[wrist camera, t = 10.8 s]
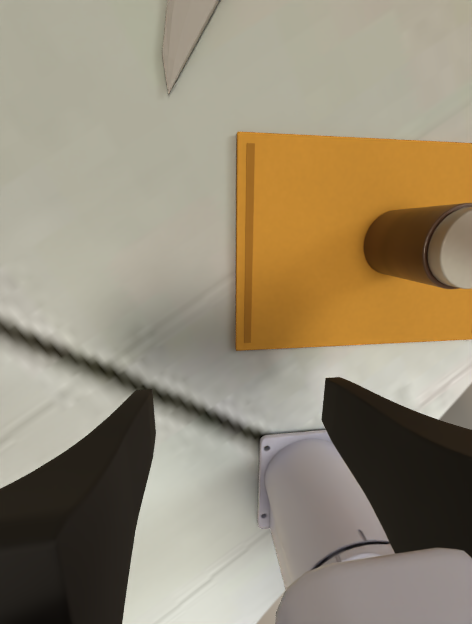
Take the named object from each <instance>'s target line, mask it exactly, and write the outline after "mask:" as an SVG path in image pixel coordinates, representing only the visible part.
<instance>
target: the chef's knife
mask: <svg viewBox="0 0 472 624" xmlns="http://www.w3.org/2000/svg"><path fill="white" fill-rule="evenodd" d="M218 2H219V0H168V2H167V11H166V20H165V29H164V38H163V48H162V56H163V62H164V69H165V76H166V82H167V89H168V94H169V93H170V91H171V89H172V87H173V85H174V84H175V82H176V80H177V78H178V76H179V74H180V73H181V71H182V69H183V67H184V65H185V63H186V62H187V60H188V58H189V56H190V54H191V52H192V50H193V49H194V47H195V45H196V43H197V41H198V39H199V37H200V36H201V34H202V32H203V30H204V28H205V26H206V24H207V23H208V21H209V19H210V17H211V15H212V13H213V12H214V10H215V8H216V6H217V4H218Z"/></svg>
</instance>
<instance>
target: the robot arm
mask: <svg viewBox="0 0 472 624" xmlns="http://www.w3.org/2000/svg"><path fill="white" fill-rule="evenodd" d="M322 422H323V424H324V426H325V429H326V430H318V431H306V432H295V433H283V434H272V435H264V436H263V437H261V439H260V457H259V487H258V518H257V522H258V527H259V528H261V529H265V528H270V530H271V534H272V538H273V542H274V546H275V550H276V554H277V558H278V562H279V566H280V570H281V574H282V578H283V582H284V586H285V590H286V591H285V593H284V595H283V598H282V600H281V602H280V605H279V607H278V609H277V612H276V623H275V624H472V430H470V429H466V428H463V427H459V426H456V425H453V424H449V423H446V422H443V421H440V420H438V419H435V418H432V417H429V416H426V415H424V414H421V413H418V412H416V411H413V410H411V409H408V408H406V407H404V406H401V405H399V404H397V403H394V402H392V401H390V400H388V399H386V398H384V397H381V396H379V395H377V394H375V393H373V392H371V391H369V390H367V389H365V388H363V387H361V386H359V385H357V384H355V383H352V382H350V381H348V380H346V379H343V378H340V377H335V378H326V380H325V390H324V401H323V411H322ZM155 436H156V430H155V417H154V405H153V393H152V389H145V390H136V391H135V392H134V393H133V394H132V395H131V396H130V397H129V398H128V399H127V400H126V401H125V402H124V403H123V404H122V405H121V406H120V407H119V408H118V409H117V410H115V411H114V412H113V413H112V414H111V415H110V416H109V417H108V418H107V419H106V420H105V421H103V422H102V423H101V424H100V425H99V426H98V427H96V428H95V429H94V430H93V431H92V432H91V433H89V434H88V435H87V436H86V437H84V438H83V439H82V440H80V441H79V442H78V443H76V444H75V445H74V446H72V447H71V448H69V449H68V450H67V451H65V452H64V453H62V454H61V455H59V456H57V457H56V458H54V459H53V460H51V461H49V462H48V463H46V464H44V465H43V466H41V467H40V468H38V469H36V470H35V471H33V472H31V473H29V474H28V475H26V476H24V477H22V478H20V479H18V480H17V481H15V482H13V483H11V484H9V485H7V486H5V487H3V488H1V489H0V624H122V620H123V612H124V605H125V597H126V590H127V583H128V576H129V569H130V562H131V556H132V549H133V543H134V536H135V530H136V525H137V520H138V515H139V511H140V507H141V503H142V499H143V495H144V491H145V487H146V483H147V479H148V475H149V471H150V467H151V463H152V459H153V452H154V445H155ZM265 446H268V447H266V448H264V447H265Z"/></svg>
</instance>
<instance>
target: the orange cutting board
mask: <svg viewBox="0 0 472 624" xmlns="http://www.w3.org/2000/svg"><path fill="white" fill-rule="evenodd" d="M460 203H472V143H457V142H436V141H416V140H396V139H375V138H355V137H335V136H315V135H294V134H274V133H254V132H238V133H237V193H236V351H240V350H260V349H281V348H302V347H322V346H343V345H364V344H384V343H405V342H426V341H446V340H467V339H472V289H462V288H459V289H444V288H440V287H436V286H431V285H427V284H423V283H419V282H415V281H410V280H406V279H402V278H398V277H394V276H389V275H385V274H381V273H379V272H377V271H375V270H374V269H372V268H371V267H370V265H369V264H368V262H367V260H366V258H365V255H364V240H365V236H366V233H367V231H368V229H369V227H370V226H371V224H372V223H373V222H374V221H375V220H376V219H377V218H378V217H379V216H381V215H382V214H384V213H386V212H388V211H392V210H399V209H409V208H419V207H430V206H440V205H450V204H460Z"/></svg>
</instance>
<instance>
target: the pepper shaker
mask: <svg viewBox="0 0 472 624" xmlns="http://www.w3.org/2000/svg"><path fill="white" fill-rule="evenodd" d="M364 255H365V258H366V260H367V262H368V264H369V265H370V267H371V268H372V269H374V270H375V271H377V272H379V273H381V274H385V275H389V276H394V277H398V278H402V279H406V280H410V281H415V282H419V283H423V284H427V285H431V286H436V287H440V288H444V289H459V288H462V289H472V203H460V204H450V205H440V206H430V207H419V208H409V209H399V210H392V211H388V212H386V213H384V214H382V215H381V216H379V217H378V218H377V219H376V220H375V221H374V222H373V223H372V224H371V226H370V227H369V229H368V231H367V233H366V236H365V240H364Z"/></svg>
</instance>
